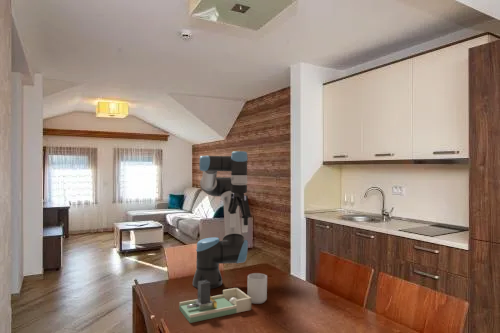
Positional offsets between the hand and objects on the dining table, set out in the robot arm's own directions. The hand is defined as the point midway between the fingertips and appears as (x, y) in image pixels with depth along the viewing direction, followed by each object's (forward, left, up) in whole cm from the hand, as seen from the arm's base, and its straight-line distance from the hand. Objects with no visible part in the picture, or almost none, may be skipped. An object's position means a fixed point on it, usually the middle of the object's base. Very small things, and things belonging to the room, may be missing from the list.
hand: (238, 229), depth 157 cm
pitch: (+8, -15, -31) cm, 36 cm away
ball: (+8, -6, -30) cm, 31 cm away
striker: (+8, -21, -29) cm, 37 cm away
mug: (+7, +7, -32) cm, 33 cm away
